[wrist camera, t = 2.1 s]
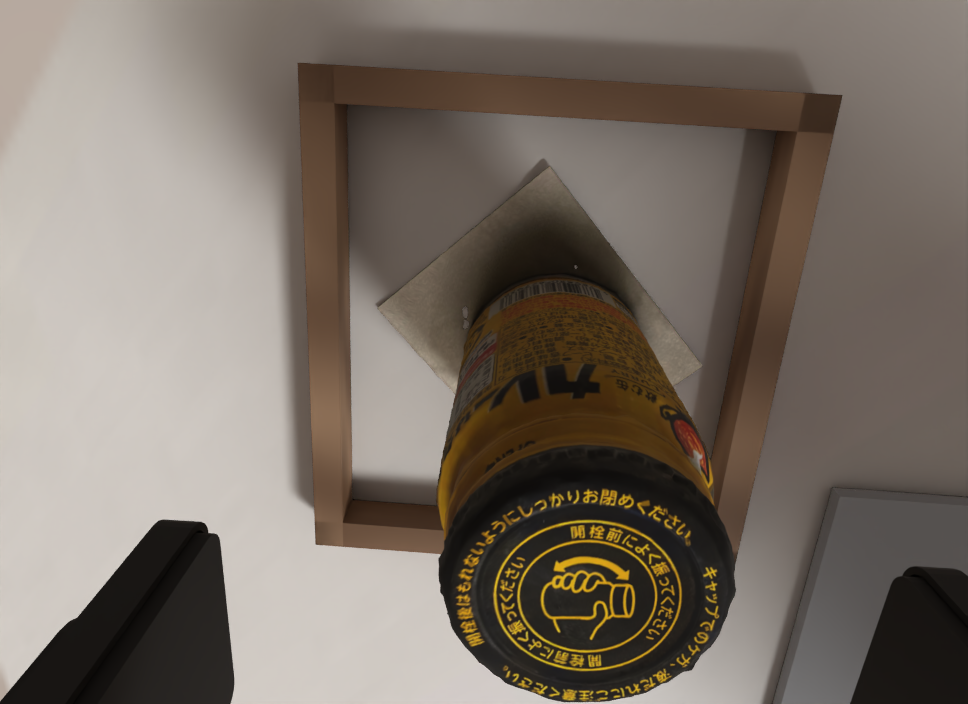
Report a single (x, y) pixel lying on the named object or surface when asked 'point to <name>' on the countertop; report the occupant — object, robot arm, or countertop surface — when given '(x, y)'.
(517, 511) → the condiment
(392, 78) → the wooden square frame
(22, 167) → the countertop surface
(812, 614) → the mat
